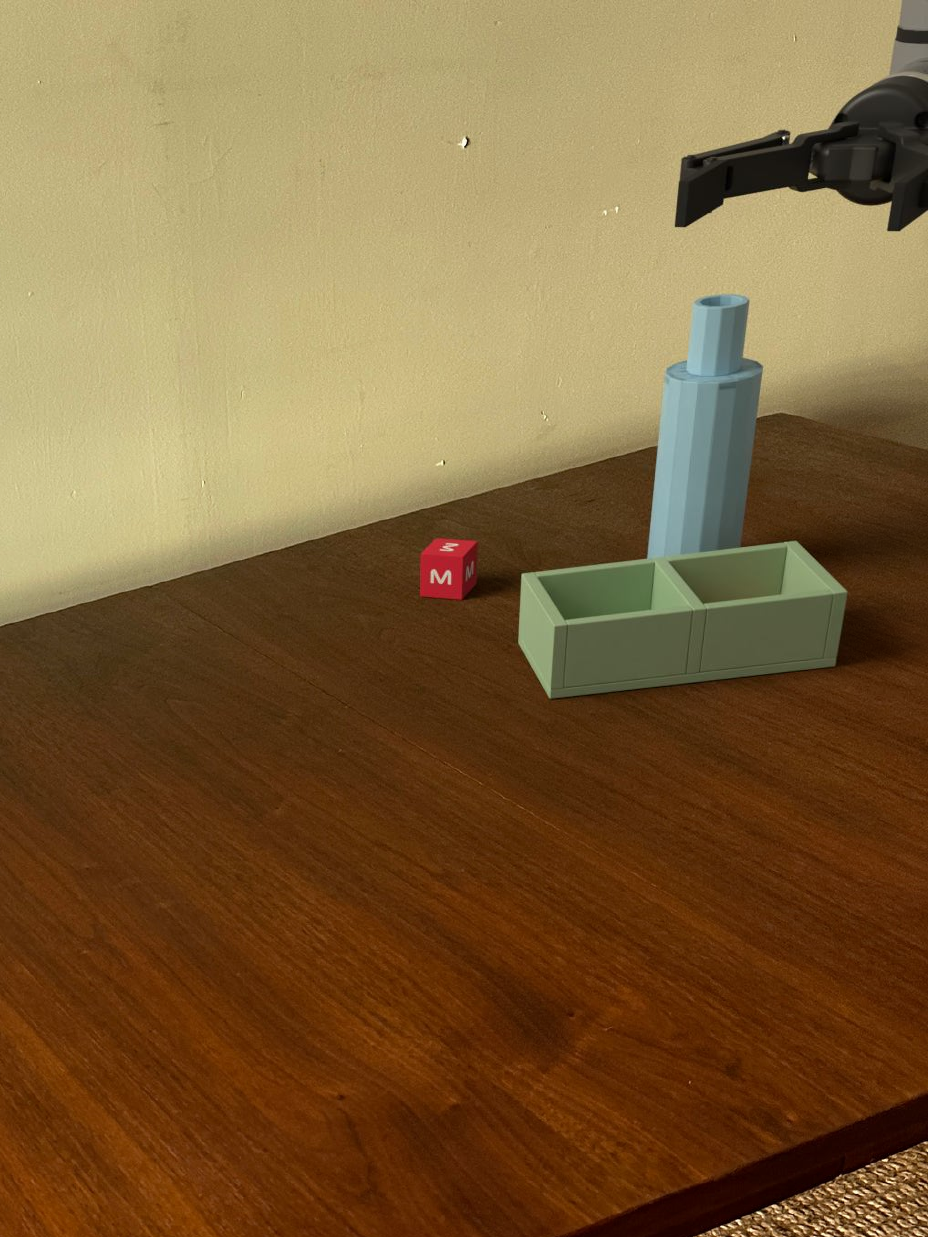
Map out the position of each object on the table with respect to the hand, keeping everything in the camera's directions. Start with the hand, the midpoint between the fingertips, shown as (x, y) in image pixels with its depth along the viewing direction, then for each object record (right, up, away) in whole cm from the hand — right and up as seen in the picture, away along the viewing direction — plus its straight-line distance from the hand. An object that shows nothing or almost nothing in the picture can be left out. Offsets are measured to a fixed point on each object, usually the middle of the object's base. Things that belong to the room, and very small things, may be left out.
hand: (785, 206), depth 113 cm
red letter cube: (-19, -22, +10) cm, 31 cm away
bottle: (-3, -21, +7) cm, 22 cm away
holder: (-8, -30, -3) cm, 31 cm away
